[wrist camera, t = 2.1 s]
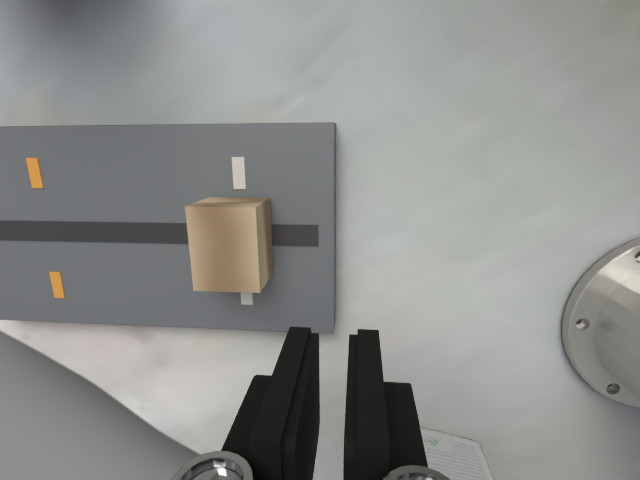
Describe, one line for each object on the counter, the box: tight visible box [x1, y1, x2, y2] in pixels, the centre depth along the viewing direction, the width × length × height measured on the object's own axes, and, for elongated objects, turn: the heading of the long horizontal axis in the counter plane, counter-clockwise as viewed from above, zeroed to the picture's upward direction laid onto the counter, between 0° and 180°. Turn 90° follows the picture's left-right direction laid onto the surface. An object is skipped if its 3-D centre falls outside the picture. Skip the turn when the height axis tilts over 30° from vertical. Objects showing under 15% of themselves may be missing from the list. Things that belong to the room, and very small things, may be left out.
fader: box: [185, 197, 273, 293], centre depth 23 cm, size 4×5×4 cm
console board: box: [0, 122, 336, 334], centre depth 27 cm, size 26×14×2 cm, turn 90°
